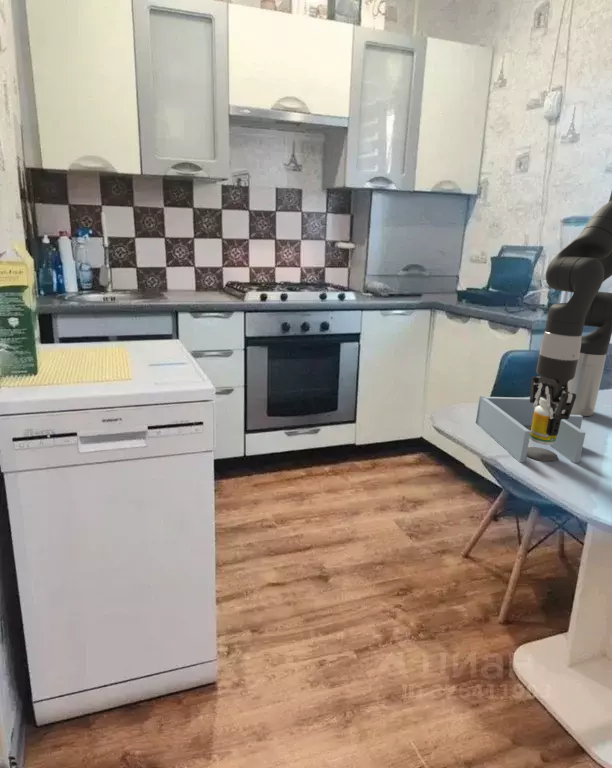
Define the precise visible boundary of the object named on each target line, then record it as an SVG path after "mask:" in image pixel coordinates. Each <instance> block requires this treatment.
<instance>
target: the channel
mask: <svg viewBox="0 0 612 768" xmlns="http://www.w3.org/2000/svg"><path fill="white" fill-rule="evenodd" d="M534 410H535V408H534V407H533V403H530V397H513V396H512V397H511V396H509V397H507V396H505V397H504V396H479V399H478V405H477V413H476V418H475V424H476V425H478V426H479V427H480V428H481V429H482V430H483V431H484V432H485V433H487V434H488V435H489V436H490V437H491V439H493V440H494V441H496V442H497V443H498V444H499V445H500V446H501V447H502V448H503V449H505V451H507V452H508V453H509V454H510V455H511V456H512V457H513V458H515V459H516V460H517V462H519V463H526V459H527V456H526V455H527V449H528V447H529V443H530V440H531V439H530V433H531V430H530V429H528V428H527V426H530V427H531V426H532V421H533V415H534ZM583 418H584V416H581V415H573V414H570V416H569V419H562V420H561V422H560V427H559V431H558V434H557V438H556V442H555V443H554V444H550V445H549V446H550V447H552V448H553V449H554V450H556V451H558V452H559V454H561V455H562V456H564V457H565V458H566V459H568V460H569V461H571V462H572V463H573V464H580V460H581V455H582V451H583V446H584V442H585V438H586V431H584V430H582V429H581V428H582V425H583V420H584V419H583ZM525 426H526V427H525Z"/></svg>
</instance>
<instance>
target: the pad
mask: <svg viewBox="0 0 612 768" xmlns="http://www.w3.org/2000/svg"><path fill="white" fill-rule="evenodd" d="M526 457H527V458H530V459H533V460H535V461H540V462H548V463H549V462H551V463H552V462H556V461H557V460H558V454H556V452H554V451H552V450H549V449H547V448H543V447H537V446H528V449H527V455H526Z"/></svg>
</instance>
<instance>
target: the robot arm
mask: <svg viewBox="0 0 612 768" xmlns="http://www.w3.org/2000/svg"><path fill="white" fill-rule="evenodd" d="M611 277H612V190H611V193H610V195H609V199H608V202H606V203H605V204H604V205H602V206H601V207H600V208H599V209H598V210H596V212H595V213H594V214H593V215H592V216H591V218H590V220H589V221H588V222H587V224H586V225H585V227H584V228H583V230H582V231H581V233H580V234H579V235H578V236H577V237H576V238H574V239H573V240H572V241H570V242H569V243H568V244H567V245H565V247H564V248H563V249H561V251H559V252H558V253H557V254H556V255H555V256H554V257H553V259H552V260H550V262H549V264H548V266H547V268H546V272H545V281H546V284H547V285H548V286H549V288H551V289H552V290H555V291H559V292H566V293H567V292H568V293H572V296H571V298H570V299H569V300H568V301H567V302H559V303H553V304H552V305H550V307H549V309H548V313H547V317H546V324H545V329H544V334H543V336H542V339H541V343H540V348H539V354H538V360H537V363H536V365H537V366H536V374H537V375H539V376H531V380H530V381H531V382H530V394H529V398H530V403H533V407H534V408H536V407H537V406H539V405H540V404H539V401H540V397H544V398H545V399H547V407H548V408H549V413H550V418H549V421H548V426H547V431H546V434H548V435H549V436H556V435H557V434H558V431H559V427H560V422H561V420H562V419H569V416H570V415H581V416H583V417H590V416H593V415H594V412H595V408H596V405H597V400H598V396H599V390H600V386H601V381H602V379H603V378H602V377H603V373H604V370H605V369H604V368H605V363H606V358H607V356H608V355H607V354H608V348H609V346H610V341H611V338H612V292H608V291H607V292H606V291H605V292H604V291H599V290H600V289H601V287H602V284H603V283H604V282H605V281H606V280H607V279H609V278H611ZM584 327H596V329H595V330H594V331H593V332H590V333H589V334H586V335H585V334H584V335H583V330H584ZM553 402H559V404H553ZM555 408H557V410H556V413H555Z"/></svg>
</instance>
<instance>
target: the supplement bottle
mask: <svg viewBox="0 0 612 768" xmlns="http://www.w3.org/2000/svg"><path fill="white" fill-rule="evenodd" d="M539 404H540V405H539V406H537V407H536V408H535V410H534V415H533V421H532V426H530V431H531V433H530V439H529V440H531V441H532V442H534V443H537V444H540V445H548V446H550V444H554V443H555V442H556V438H557V435H556V436H549V435H548V434H546V431H547V426H548V421H549V418H550V413H549V408H548V407H547V399H545V398H544V397H540V401H539ZM553 404H559V402H553ZM556 410H557V408H555V413H556Z"/></svg>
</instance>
